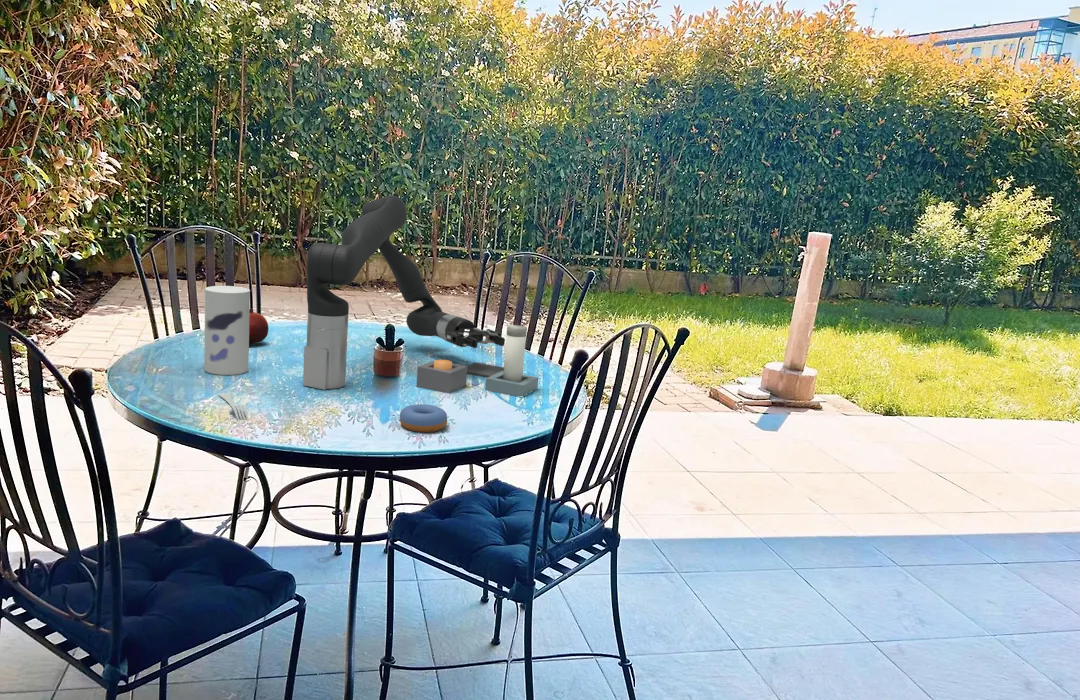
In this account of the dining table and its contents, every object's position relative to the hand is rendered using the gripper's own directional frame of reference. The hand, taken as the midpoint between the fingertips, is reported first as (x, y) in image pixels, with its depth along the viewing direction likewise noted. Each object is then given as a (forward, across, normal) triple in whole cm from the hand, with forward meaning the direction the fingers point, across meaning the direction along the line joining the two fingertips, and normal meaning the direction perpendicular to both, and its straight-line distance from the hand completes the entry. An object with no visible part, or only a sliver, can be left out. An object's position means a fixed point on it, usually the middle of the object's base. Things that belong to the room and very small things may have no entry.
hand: (490, 343), depth 216 cm
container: (-28, -58, +10) cm, 65 cm away
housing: (+11, 0, +10) cm, 14 cm away
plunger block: (+2, -15, +10) cm, 18 cm away
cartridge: (+11, 0, +10) cm, 14 cm away
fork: (+1, -66, +10) cm, 67 cm away
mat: (-7, +4, +10) cm, 12 cm away
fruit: (-53, -44, +10) cm, 69 cm away
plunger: (+2, -15, +9) cm, 18 cm away
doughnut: (+28, -36, +10) cm, 46 cm away
